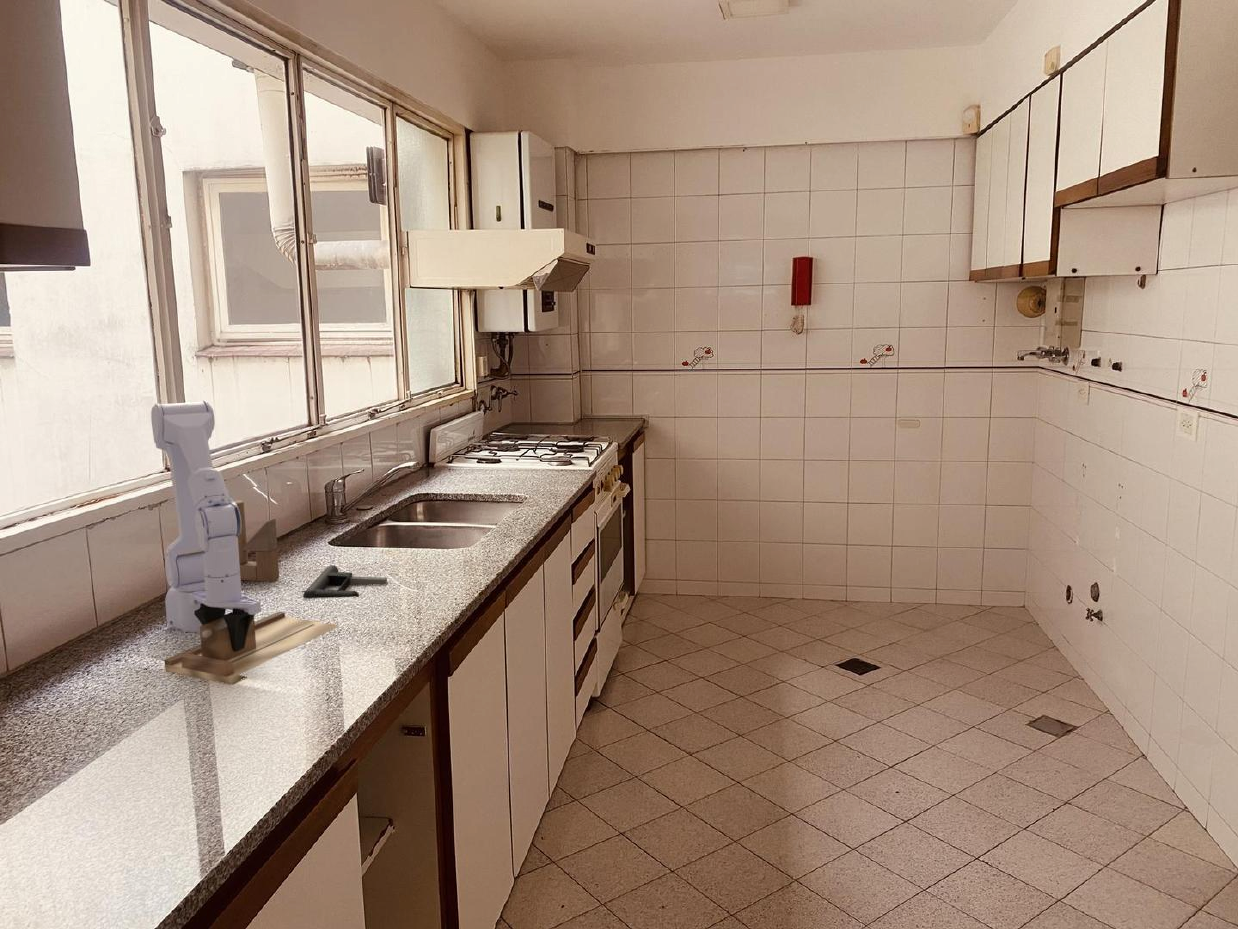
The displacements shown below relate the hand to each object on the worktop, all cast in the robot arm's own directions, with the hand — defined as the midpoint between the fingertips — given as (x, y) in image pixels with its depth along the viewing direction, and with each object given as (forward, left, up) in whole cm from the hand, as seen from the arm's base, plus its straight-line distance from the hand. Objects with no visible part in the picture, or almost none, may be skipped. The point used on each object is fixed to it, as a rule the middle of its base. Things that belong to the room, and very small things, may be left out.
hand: (228, 647), depth 161 cm
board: (+1, +6, -2) cm, 6 cm away
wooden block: (-33, +39, -3) cm, 51 cm away
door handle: (-8, +42, -3) cm, 43 cm away
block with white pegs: (0, 0, -1) cm, 1 cm away
